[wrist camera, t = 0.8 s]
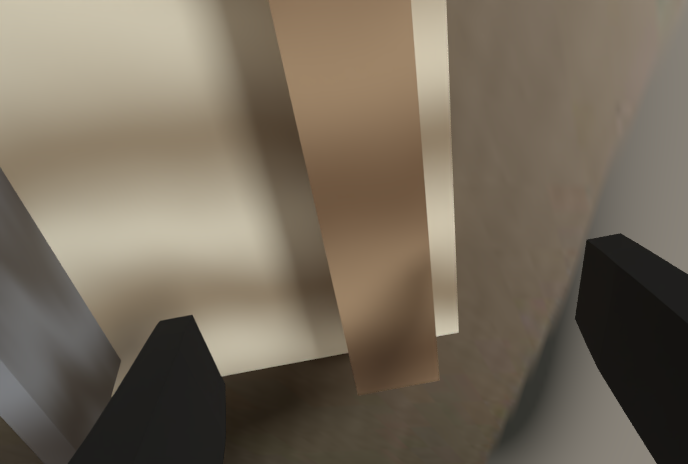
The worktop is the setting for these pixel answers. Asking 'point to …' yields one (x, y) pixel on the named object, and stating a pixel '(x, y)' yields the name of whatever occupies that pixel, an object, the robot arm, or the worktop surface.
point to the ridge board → (169, 199)
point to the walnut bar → (366, 177)
